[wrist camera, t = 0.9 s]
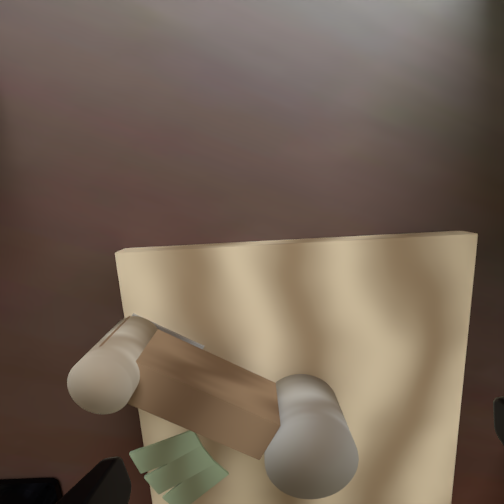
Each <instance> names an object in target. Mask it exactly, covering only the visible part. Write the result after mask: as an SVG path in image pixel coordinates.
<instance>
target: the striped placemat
mask: <svg viewBox="0 0 504 504" xmlns="http://www.w3.org/2000/svg"><path fill="white" fill-rule="evenodd" d="M477 239H478V234H476V233H471V232H466V231H442V232H423V233H404V234H385V235H367V236H348V237H329V238H310V239H291V240H272V241H253V242H234V243H215V244H196V245H177V246H158V247H140V248H125V249H122V250H120V251H118V252H116V253H115V258H116V265H117V271H118V278H119V285H120V291H121V298H122V305H123V311H124V318H127V317H128V316H139V317H143V318H146V319H148V320H149V321H151V322H152V323H153V324H154V325H155V326H156V327H157V328H158V329H159V330H161V331H163V332H165V333H168V334H170V335H172V336H174V337H176V338H179V339H181V340H183V341H185V342H187V343H190V344H192V345H194V346H196V347H198V348H200V349H203V350H205V351H207V352H209V353H211V354H214V355H216V356H218V357H220V358H222V359H225V360H227V361H229V362H231V363H233V364H235V365H238V366H240V367H242V368H244V369H246V370H249V371H251V372H253V373H255V374H257V375H260V376H262V377H264V378H266V379H268V380H270V381H273V382H275V383H276V382H277V381H278V380H280V379H282V378H284V377H287V376H290V375H294V374H308V375H312V376H315V377H318V378H320V379H322V380H323V381H325V382H326V383H327V384H328V385H329V386H330V387H331V388H332V389H333V391H334V393H335V395H336V397H337V400H338V402H339V405H340V407H341V410H342V412H343V415H344V417H345V420H346V422H347V425H348V427H349V430H350V432H351V435H352V437H353V440H354V442H355V445H356V447H357V450H358V456H359V461H358V467H357V470H356V473H355V475H354V477H353V478H352V480H351V481H350V482H349V483H348V484H347V485H346V486H345V487H344V488H343V489H342V490H340V491H339V492H337V493H335V494H333V495H331V496H328V497H325V498H320V499H300V498H295V497H292V496H290V495H287V494H285V493H284V492H282V491H280V490H279V489H278V488H277V487H276V486H275V485H274V484H273V483H272V482H271V480H270V479H269V477H268V475H267V472H266V469H265V460H264V454H263V455H262V457H261V459H260V460H258V459H255V458H253V457H251V456H248V455H246V454H244V453H241V452H239V451H237V450H234V449H232V448H230V447H227V446H225V445H223V444H220V443H218V442H216V441H213V440H211V439H209V438H206V437H204V436H202V435H199V434H197V433H195V432H192V431H190V430H188V429H185V428H183V427H181V426H178V425H176V424H174V423H171V422H169V421H167V420H164V419H162V418H160V417H157V416H155V415H153V414H150V413H148V412H146V411H143V410H141V409H139V408H138V411H139V417H140V424H141V430H142V437H143V444H144V447H142V448H139V449H136V450H134V451H131V452H130V453H129V455H130V457H131V458H132V460H133V462H134V463H135V465H136V466H137V468H138V470H139V471H140V473H144V472H147V471H148V473H147V474H146V475H145V476H144V478H145V480H146V481H147V482H148V483H149V484H150V490H151V497H152V503H153V504H451V498H452V488H453V478H454V468H455V458H456V448H457V438H458V428H459V418H460V408H461V398H462V388H463V378H464V369H465V359H466V349H467V339H468V329H469V319H470V309H471V299H472V289H473V279H474V269H475V259H476V249H477Z"/></svg>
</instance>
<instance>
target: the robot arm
mask: <svg viewBox="0 0 504 504" xmlns="http://www.w3.org/2000/svg"><path fill="white" fill-rule="evenodd" d="M493 410H494V428H495V432H496V434H497V436H498V438H499V440H500V441H501V443H502V444H503V445H504V396H502V397H497V398H495V399H494V401H493ZM130 493H131V481H130V478H129V475H128V473H127V470H126V467H125V465H124V462H123V460H122V458H120V457H111V458H105V459H103V460H102V461H100V462H99V463H98V464H97V465H96V466H95V467H94V468H93V469H92V470H91V471H90V472H89V473H88V474H87V475H85V476H84V477H83V478H82V479H81V480H80V481H79V482H78V483H77V484H76V485H75V486H74V487H73V488H72V489H71V490H69V491H68V492H67V493H66V494H65V495H64V496H63V497H62V496H61V492H60V488H59V483H58V481H57V480H56V479H54V478H33V479H9V480H0V504H128V502H129V498H130Z"/></svg>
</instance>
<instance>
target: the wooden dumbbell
mask: <svg viewBox="0 0 504 504" xmlns="http://www.w3.org/2000/svg"><path fill="white" fill-rule="evenodd" d="M67 386H68V391H69V393H70V395H71V397H72V399H73V400H74V401H75V402H76V403H77V404H78V405H79V406H80V407H81V408H83V409H85V410H87V411H89V412H92V413H95V414H110V413H114V412H117V411H119V410H120V409H122V408H123V407H124V406H125V405H126V404H129V405H132V406H134V407H136V408H139V409H141V410H143V411H146V412H148V413H150V414H153V415H155V416H157V417H160V418H162V419H164V420H167V421H169V422H171V423H174V424H176V425H178V426H181V427H183V428H185V429H188V430H190V431H192V432H195V433H197V434H199V435H202V436H204V437H206V438H209V439H211V440H213V441H216V442H218V443H220V444H223V445H225V446H227V447H230V448H232V449H234V450H237V451H239V452H241V453H244V454H246V455H248V456H251V457H253V458H255V459H258V460H260V459H261V457H262V455H263V454H264V460H265V469H266V472H267V475H268V477H269V479H270V480H271V482H272V483H273V484H274V485H275V486H276V487H277V488H278V489H279V490H280V491H282V492H284V493H285V494H287V495H290V496H292V497H295V498H300V499H320V498H325V497H328V496H331V495H333V494H335V493H337V492H339V491H340V490H342V489H343V488H344V487H345V486H346V485H347V484H348V483H349V482H350V481H351V480H352V478H353V477H354V475H355V473H356V470H357V467H358V461H359V456H358V450H357V447H356V445H355V442H354V440H353V437H352V435H351V432H350V430H349V427H348V425H347V422H346V420H345V417H344V415H343V412H342V410H341V407H340V405H339V402H338V400H337V397H336V395H335V393H334V391H333V389H332V388H331V387H330V386H329V385H328V384H327V383H326V382H325V381H323V380H322V379H320V378H318V377H315V376H312V375H308V374H294V375H290V376H287V377H284V378H282V379H280V380H278V381H277V382H276V383H275V382H273V381H270V380H268V379H266V378H264V377H262V376H260V375H257V374H255V373H253V372H251V371H249V370H246V369H244V368H242V367H240V366H238V365H235V364H233V363H231V362H229V361H227V360H225V359H222V358H220V357H218V356H216V355H214V354H211V353H209V352H207V351H205V350H203V349H200V348H198V347H196V346H194V345H192V344H190V343H187V342H185V341H183V340H181V339H179V338H176V337H174V336H172V335H170V334H168V333H165V332H163V331H161V330H159V329H158V328H157V327H156V326H155V325H154V324H153V323H152V322H151V321H149V320H148V319H146V318H143V317H139V316H128V317H127V318H124V319H122V320H121V321H119V322H118V323H117V324H116V325H115V326H114V327H113V328H112V329H111V330H110V331H109V332H108V333H107V334H106V335H105V336H104V337H103V338H102V339H101V340H100V341H99V342H98V343H97V344H96V345H95V346H94V347H93V348H92V349H91V350H90V351H89V352H88V353H87V354H86V355H85V356H84V357H83V358H82V359H81V360H80V361H79V362H77V363H76V364H75V365H74V366H73V368H72V369H71V371H70V372H69V375H68V379H67Z"/></svg>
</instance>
